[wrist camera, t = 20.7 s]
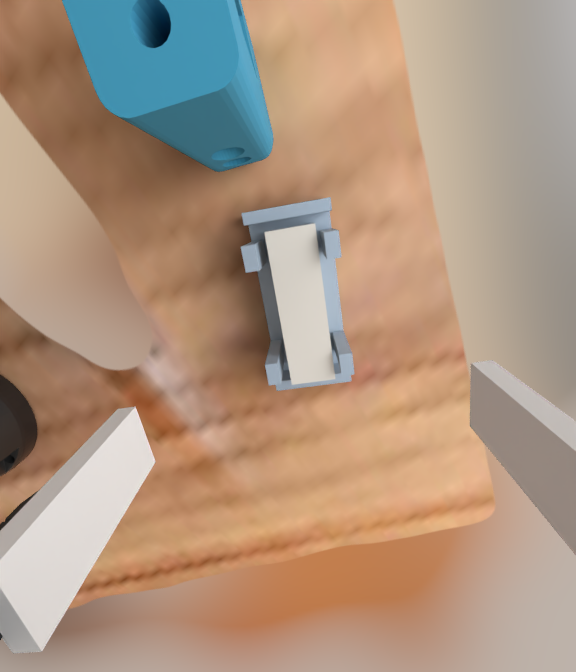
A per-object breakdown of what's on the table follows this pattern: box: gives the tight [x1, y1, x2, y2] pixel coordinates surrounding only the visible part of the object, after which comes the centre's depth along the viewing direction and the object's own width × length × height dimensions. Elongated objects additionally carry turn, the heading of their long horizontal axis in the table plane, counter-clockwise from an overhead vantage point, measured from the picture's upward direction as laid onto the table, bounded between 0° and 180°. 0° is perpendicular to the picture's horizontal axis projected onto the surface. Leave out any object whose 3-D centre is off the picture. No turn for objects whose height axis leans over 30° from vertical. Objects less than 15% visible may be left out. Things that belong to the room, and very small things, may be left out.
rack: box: [241, 197, 354, 391], centre depth 30 cm, size 17×8×7 cm, turn 9°
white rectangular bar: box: [264, 223, 335, 385], centre depth 30 cm, size 14×4×5 cm, turn 9°
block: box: [62, 0, 273, 172], centre depth 19 cm, size 12×5×20 cm, turn 14°
